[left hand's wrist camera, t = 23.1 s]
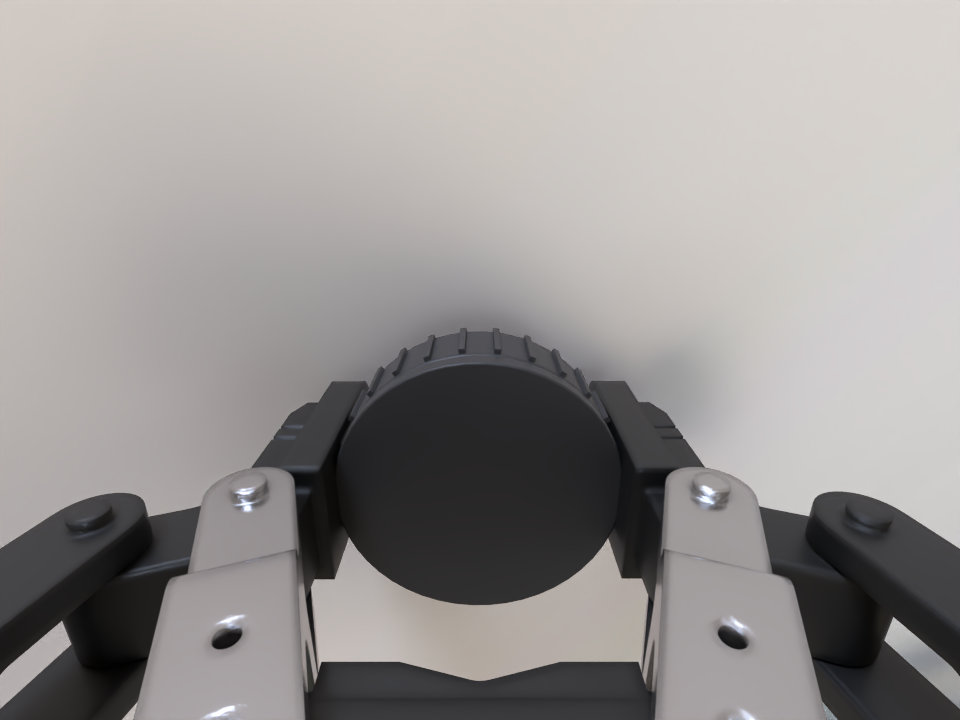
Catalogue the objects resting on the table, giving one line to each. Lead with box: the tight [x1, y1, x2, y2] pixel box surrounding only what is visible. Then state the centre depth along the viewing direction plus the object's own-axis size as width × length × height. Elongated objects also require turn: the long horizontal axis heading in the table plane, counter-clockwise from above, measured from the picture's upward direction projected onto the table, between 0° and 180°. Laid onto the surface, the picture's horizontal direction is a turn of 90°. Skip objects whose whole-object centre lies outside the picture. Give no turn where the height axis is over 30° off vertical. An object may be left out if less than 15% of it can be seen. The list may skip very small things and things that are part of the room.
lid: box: [335, 328, 622, 605], centre depth 10 cm, size 5×5×2 cm
